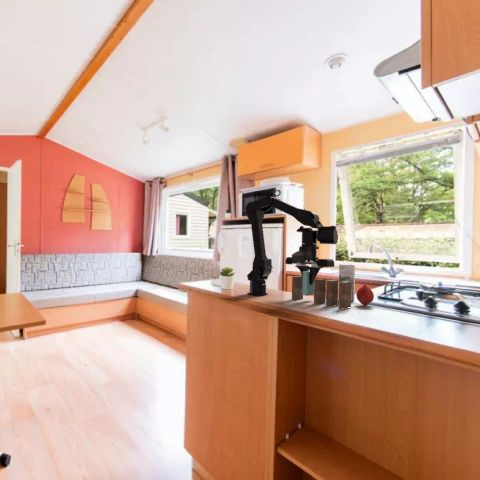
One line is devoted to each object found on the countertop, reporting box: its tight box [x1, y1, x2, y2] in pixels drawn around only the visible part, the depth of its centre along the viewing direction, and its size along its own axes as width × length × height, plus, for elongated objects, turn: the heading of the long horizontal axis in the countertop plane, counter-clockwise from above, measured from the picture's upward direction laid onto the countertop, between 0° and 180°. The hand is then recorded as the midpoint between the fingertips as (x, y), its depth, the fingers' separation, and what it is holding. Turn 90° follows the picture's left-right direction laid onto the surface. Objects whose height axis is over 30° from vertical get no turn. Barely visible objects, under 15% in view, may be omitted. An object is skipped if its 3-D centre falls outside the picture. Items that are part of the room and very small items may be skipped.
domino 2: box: [302, 270, 314, 297], centre depth 115 cm, size 2×5×9 cm, turn 134°
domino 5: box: [338, 281, 352, 310], centre depth 104 cm, size 2×5×9 cm, turn 133°
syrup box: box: [338, 262, 356, 302], centre depth 120 cm, size 6×6×14 cm
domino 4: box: [325, 279, 339, 307], centre depth 108 cm, size 2×5×9 cm, turn 134°
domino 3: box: [313, 278, 327, 305], centre depth 111 cm, size 2×5×9 cm, turn 134°
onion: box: [356, 283, 375, 307], centre depth 108 cm, size 6×6×8 cm
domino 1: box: [291, 275, 304, 301], centre depth 119 cm, size 2×5×9 cm, turn 134°
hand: (308, 284), depth 115 cm, fingers closed on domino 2, 2 cm apart
